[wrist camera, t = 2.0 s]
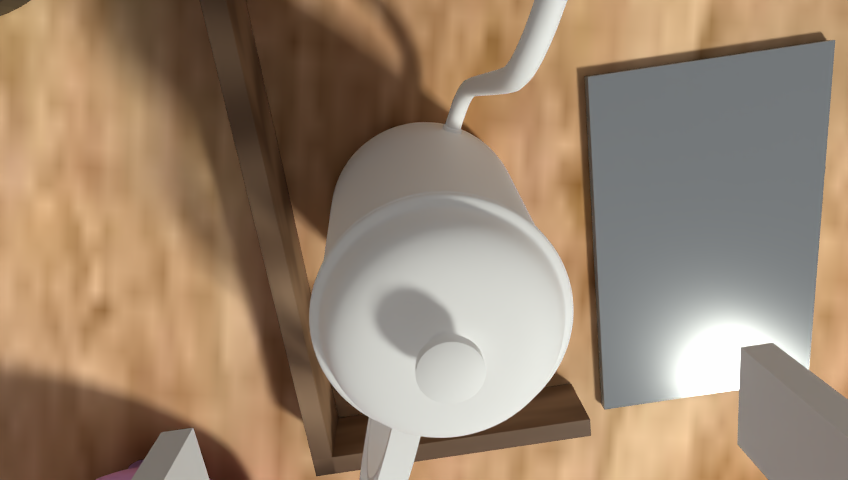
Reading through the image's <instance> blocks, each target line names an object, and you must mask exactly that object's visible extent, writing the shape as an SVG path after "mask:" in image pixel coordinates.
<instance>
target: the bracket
mask: <svg viewBox="0 0 848 480" xmlns="http://www.w3.org/2000/svg"><path fill="white" fill-rule="evenodd" d="M200 3H201V7H202V12H203V16H204V20H205V24H206V28H207V32H208V36H209V40H210V44H211V48H212V52H213V56H214V60H215V65H216V69H217V73H218V77H219V81H220V85H221V89H222V93H223V97H224V101H225V105H226V109H227V113H228V118H229V122H230V126H231V130H232V134H233V138H234V142H235V146H236V150H237V154H238V158H239V162H240V166H241V171H242V175H243V179H244V183H245V187H246V191H247V195H248V199H249V203H250V207H251V211H252V215H253V219H254V223H255V228H256V232H257V236H258V240H259V244H260V248H261V252H262V256H263V260H264V264H265V268H266V272H267V276H268V281H269V285H270V289H271V293H272V297H273V301H274V305H275V309H276V313H277V317H278V321H279V325H280V329H281V334H282V338H283V342H284V346H285V350H286V354H287V358H288V362H289V366H290V370H291V374H292V378H293V382H294V387H295V391H296V395H297V399H298V403H299V407H300V411H301V415H302V419H303V423H304V427H305V431H306V435H307V440H308V444H309V448H310V452H311V456H312V460H313V464H314V468H315V472H316V476H321V475H328V474H335V473H342V472H348V471H355V470H361V463H362V456H363V450H364V443H365V437H366V431H367V425H368V419H369V417H368V416H366V415H365V414H363V415H356V416H349V417H343V418H338V414H337V410H336V405H335V401H334V396H333V392H332V387H331V383H330V381H329V380H328V379H327V377H326V375H325V374H324V372H323V370H322V368H321V366H320V364H319V362H318V360H317V357H316V354H315V351H314V348H313V344H312V340H311V335H310V327H309V307H310V299H311V292H310V288H309V283H308V279H307V274H306V270H305V265H304V261H303V256H302V252H301V247H300V243H299V238H298V234H297V229H296V225H295V220H294V216H293V211H292V207H291V202H290V198H289V193H288V189H287V184H286V180H285V175H284V171H283V166H282V162H281V157H280V153H279V148H278V144H277V139H276V135H275V130H274V126H273V121H272V117H271V112H270V108H269V103H268V99H267V94H266V90H265V85H264V81H263V76H262V72H261V67H260V63H259V58H258V54H257V49H256V45H255V40H254V36H253V31H252V27H251V22H250V18H249V13H248V9H247V4H246V0H200ZM585 436H591V429H590V419H589V417H588V415H587V413H586V411H585V409H584V407H583V405H582V403H581V401H580V400H579V398H578V396H577V394H576V392H575V390H574V388H573V386H572V384H565V385H559V386H552V387H545V388H543V389H542V390H541V391H540V392H539V393H538V394H537V395H536V396H535V397H534V398H533V399H532V400H531V401H530V402H529V403H528V404H527V405H526V406H525V407H524V408H522V409H521V410H520V411H519V412H517V413H516V414H514V415H513V416H512V417H510V418H508V419H507V420H505V421H503V422H501V423H499V424H497V425H495V426H493V427H491V428H488V429H486V430H483V431H480V432H477V433H473V434H469V435H464V436H458V437H448V438H434V437H423V436H421V437H420V441H419V445H418V449H417V452H416V456H415V459H414V462H416V461H423V460H430V459H436V458H443V457H450V456H457V455H463V454H470V453H477V452H484V451H490V450H497V449H504V448H511V447H517V446H524V445H531V444H538V443H545V442H551V441H558V440H565V439H572V438H578V437H585Z"/></svg>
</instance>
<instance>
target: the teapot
mask: <svg viewBox="0 0 848 480" xmlns="http://www.w3.org/2000/svg"><path fill="white" fill-rule="evenodd" d="M142 462H143V460H139V461H136V462H134V463H133V464H131V465H130V466H129V468H128V469H126V470H122V471H118V472H115V473H112V474H108V475H105V476H102V477H100V478H97V479H96V480H131V479H132V477H133V476H134V474H135V473H136V471H137V470H138V468H139V467H140V465H141V463H142ZM209 480H212V479H209Z"/></svg>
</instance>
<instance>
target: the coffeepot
mask: <svg viewBox="0 0 848 480" xmlns="http://www.w3.org/2000/svg"><path fill="white" fill-rule="evenodd" d="M566 3H567V0H534V3H533V6H532V9H531V12H530V15H529V18H528V21H527V23H526V26H525V28H524V31H523V34H522V36H521V38H520V41H519V43H518V45H517V47H516V50H515V52H514V54H513V55H512V57H511V59H510V61H509V62H508V64H507V65H506V66H505V67H503V68H501V69H498V70H494V71H491V72H488V73H484V74H481V75H478V76H474V77H471V78H469V79H467V80H465V81H464V82H463V83H462V84H461V85H460V87H459V88H458V90H457V93H456V95H455V97H454V99H453V102H452V105H451V108H450V111H449V114H448V117H447V120H446V123H445V124H442V123H434V122H416V123H409V124H404V125H400V126H396V127H393V128H391V129H388V130H386V131H384V132H382V133H380V134H378V135H376V136H375V137H373V138H372V139H370V140H369V141H367V142H366V143H365V144H364V145H362V146H361V147H360V148H359V149H358V150H357V151H356V152H355V153H354V154H353V156H352V157H351V158H350V159H349V161H348V162H347V164H346V165H345V167H344V169H343V170H342V172H341V174H340V176H339V178H338V181H337V183H336V186H335V190H334V193H333V198H332V205H331V212H330V219H329V226H328V233H327V240H326V247H325V255H324V261H323V263H322V265H321V267H320V270H319V272H318V275H317V277H316V280H315V283H314V286H313V290H312V294H311V299H310V307H309V327H310V335H311V340H312V344H313V348H314V351H315V354H316V357H317V360H318V362H319V364H320V366H321V368H322V370H323V372H324V374H325V375H326V377H327V379H328V380H329V381H330V383H331V384H332V386H333V387H334V388H335V389H336V391H337V392H338V393H339V394H340V395H341V396H342V397H343V398H344V399H345V400H346V401H347V402H348V403H350V404H351V405H352V406H353V407H355V408H356V409H357V410H359V411H360V412H362V413H363V414H365V415H366V416H368V417H369V419H368V425H367V431H366V437H365V443H364V450H363V456H362V463H361V472H360V480H408V479H409V476H410V473H411V469H412V466H413V463H414V459H415V456H416V452H417V449H418V445H419V441H420V437H421V436H423V437H434V438H448V437H458V436H464V435H469V434H473V433H477V432H480V431H483V430H486V429H488V428H491V427H493V426H495V425H497V424H499V423H501V422H503V421H505V420H507V419H508V418H510V417H512V416H513V415H514V414H516V413H517V412H519V411H520V410H521V409H522V408H524V407H525V406H526V405H527V404H528V403H529V402H530V401H531V400H532V399H533V398H534V397H535V396H536V395H537V394H538V393H539V392H540V391H541V390H542V389H543V388H544V387H545V386H546V384H547V383H548V382H549V380H550V379H551V378H552V376H553V375H554V373H555V372H556V370H557V368H558V367H559V365H560V363H561V361H562V359H563V357H564V354H565V352H566V349H567V346H568V343H569V340H570V336H571V331H572V324H573V296H572V290H571V285H570V281H569V278H568V275H567V272H566V269H565V267H564V265H563V262H562V260H561V258H560V257H559V255H558V253H557V251H556V250H555V248H554V247H553V246H552V244H551V243H550V242H549V240H548V239H547V238H546V237H545V236H544V234H543V233H542V232H541V231H540V230H539V229H538V228H537V227H536V226H535V224H534V222H533V220H532V218H531V216H530V214H529V213H528V211H527V209H526V207H525V205H524V203H523V201H522V199H521V197H520V195H519V193H518V191H517V189H516V187H515V185H514V183H513V181H512V179H511V177H510V175H509V173H508V171H507V169H506V168H505V166H504V164H503V163H502V161H501V160H500V159H499V157H498V156H497V155H496V154H495V153H494V152H493V150H492V149H490V148H489V147H488V146H487V145H486V144H485V143H484V142H483V141H481V140H480V139H478V138H477V137H475V136H474V135H472V134H470V133H468V132H466V131H464V130H462V129H461V126H462V123H463V120H464V117H465V114H466V111H467V109H468V106H469V104H470V102H471V100H472V99H473V97H474V96H483V95H497V94H507V93H512V92H516V91H519V90H520V89H521V88H523V87H524V86H525V85H526V84H527V83H528V82H529V81H530V80H531V78H532V77H533V76H534V75H535V73H536V71H537V70H538V68H539V66H540V64H541V63H542V61H543V59H544V57H545V55H546V53H547V50H548V48H549V46H550V44H551V42H552V39H553V37H554V34H555V32H556V30H557V27H558V24H559V22H560V19H561V16H562V14H563V11H564V8H565V5H566Z"/></svg>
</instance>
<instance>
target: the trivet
mask: <svg viewBox="0 0 848 480" xmlns="http://www.w3.org/2000/svg"><path fill="white" fill-rule="evenodd" d="M834 48H835V40H826V41H819V42H813V43H806V44H799V45H793V46H786V47H779V48H772V49H766V50H759V51H752V52H746V53H739V54H732V55H726V56H719V57H712V58H706V59H699V60H692V61H685V62H679V63H672V64H665V65H659V66H652V67H645V68H639V69H632V70H625V71H619V72H612V73H605V74H598V75H592V76H585V95H586V114H587V134H588V153H589V172H590V192H591V211H592V230H593V250H594V269H595V288H596V308H597V327H598V346H599V366H600V385H601V404H602V406H603V408H604V409H611V408H618V407H625V406H632V405H638V404H645V403H652V402H659V401H665V400H672V399H679V398H686V397H692V396H699V395H706V394H713V393H719V392H726V391H733V390H739V381H740V350H741V347H746V346H753V345H760V344H767V343H774V344H775V345H776V346H778V347H779V348H780V349H782V350H783V351H784V352H786V353H787V354H788V355H790V356H791V357H792V358H794V359H795V360H796V361H798V362H799V363H800V364H802V365H803V366H804V367H805V368H807V369H808V370H809V364H810V351H811V339H812V326H813V313H814V301H815V288H816V275H817V263H818V250H819V238H820V225H821V212H822V200H823V187H824V174H825V162H826V149H827V137H828V124H829V111H830V99H831V86H832V73H833V61H834Z"/></svg>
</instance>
